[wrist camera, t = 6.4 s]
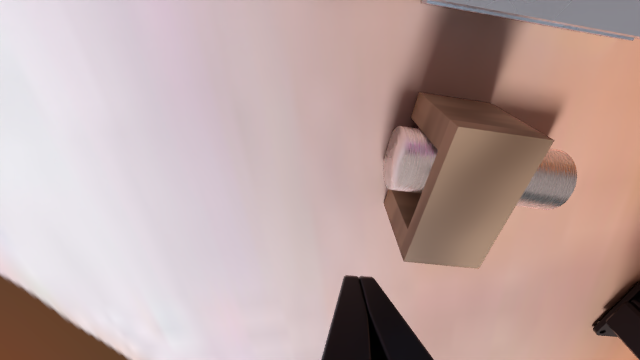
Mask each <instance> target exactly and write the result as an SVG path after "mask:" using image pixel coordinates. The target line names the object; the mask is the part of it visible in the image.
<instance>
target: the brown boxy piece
mask: <svg viewBox="0 0 640 360" xmlns="http://www.w3.org/2000/svg"><path fill="white" fill-rule="evenodd" d="M411 118H412V119H413V121H414V122H415V123H416V124H417V125H418V127H419V128H420V129H421V130H422V132H423V133H424V134H425V135H426V136H427V138H428V139H429V140H430V141H431V142H432V144H433V145H434V146H435V147H436V149H437V150H438V152H437V155H436V158H435V160H434V163H433V165H432V168H431V171H430V173H429V176H428V178H427V181H426V184H425V186H424V189H423V191H422V194H421V193H413V192H405V191H397V190H390V189H388V192H387V195H386V198H385V202H384V206H385V209H386V211H387V214H388V217H389V220H390V223H391V226H392V229H393V232H394V235H395V238H396V240H397V243H398V246H399V249H400V252H401V255H402V258H403V261H404V262H414V263H425V264H435V265H445V266H455V267H465V268H476V269H479V267H480V266H481V264H482V262H483V261H484V259H485V257H486V256H487V254H488V252H489V250H490V249H491V247H492V245H493V244H494V242H495V240H496V239H497V237H498V235H499V233H500V232H501V230H502V228H503V227H504V225H505V223H506V222H507V220H508V218H509V216H510V215H511V213H512V211H513V210H514V208H515V206H516V205H517V203H518V201H519V199H520V198H521V196H522V194H523V193H524V191H525V189H526V188H527V186H528V184H529V183H530V181H531V179H532V177H533V176H534V174H535V172H536V171H537V169H538V167H539V166H540V164H541V162H542V160H543V159H544V157H545V155H546V154H547V152H548V150H549V149H550V147H551V145H552V143H553V142H554V140H553V139H551V138H549V137H548V136H546V135H544V134H542V133H541V132H539V131H537V130H536V129H534V128H532V127H531V126H529V125H527V124H525V123H524V122H522V121H520V120H519V119H517V118H515V117H514V116H512V115H510V114H508V113H507V112H505V111H503V110H502V109H500V108H498V107H497V106H495V105H493V104H491V103H487V102H481V101H474V100H467V99H461V98H454V97H448V96H441V95H435V94H428V93H422V92H419V94H418V97H417V100H416V104H415V107H414V110H413V113H412V116H411Z"/></svg>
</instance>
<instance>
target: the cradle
mask: <svg viewBox="0 0 640 360" xmlns="http://www.w3.org/2000/svg"><path fill="white" fill-rule="evenodd" d="M421 3H425V4H430V5H436V6H441V7H447V8H452V9H458V10H463V11H469V12H474V13H480V14H485V15H491V16H496V17H502V18H507V19H513V20H518V21H524V22H529V23H535V24H540V25H546V26H551V27H557V28H562V29H568V30H573V31H579V32H584V33H590V34H595V35H601V36H606V37H612V38H617V39H625V40H632V41H633V40H634V38H637V39H640V0H421Z"/></svg>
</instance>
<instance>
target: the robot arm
mask: <svg viewBox="0 0 640 360" xmlns="http://www.w3.org/2000/svg"><path fill="white" fill-rule="evenodd" d="M593 330H594V332H595V333H596V334H597V335H601V336H614V337H619V338H620V339H621V340H622V342H623V343H624V344H625V345H626V346H627V347H628V348H629V349H630V350H631V352H632V353H633V354H634V355H635V356H636V357H637V358H638V359H639V360H640V282H639V283H638V284H636V285H635V286H634V287H633V288H632V289H631V290H630V291H629V292H628V293H627V294H626V295H625V296H624V298H623V299H622V300H621V301H620V302H619V303H618V304H617V305H616V306H615V307H614V308H613V309H612V310H611V311H610V312H609V313H608V314H607V315H606V316H605V317H604V318H603V319H602V320H601V321H600V322H599V323H598V324H597V325H596V326H595V327H594V328H593ZM321 360H434V359H433V358H432V357H431V355H430V354H429V353H428V351H427V350H426V348H425V347H424V346H423V344H422V343H421V342H420V340H419V339H418V338H417V336H416V335H415V334H414V332H413V331H412V329H411V328H410V327H409V325H408V324H407V323H406V321H405V320H404V319H403V317H402V316H401V315H400V313H399V312H398V310H397V309H396V308H395V306H394V305H393V304H392V302H391V301H390V300H389V298H388V297H387V296H386V294H385V293H384V291H383V290H382V289H381V287H380V286H379V285H378V283H377V282H376V281H375V279H374V278H372V277H364V276H360V277H359V278H358V277H357V276H348V275H346V276H344V279H343V283H342V286H341V290H340V294H339V297H338V301H337V305H336V308H335V312H334V315H333V319H332V323H331V326H330V330H329V334H328V337H327V341H326V345H325V348H324V352H323V356H322V359H321Z"/></svg>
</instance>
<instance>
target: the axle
mask: <svg viewBox="0 0 640 360" xmlns="http://www.w3.org/2000/svg"><path fill="white" fill-rule="evenodd" d="M437 152H438V150H437V149H436V147H435V146H434V145H433V144H432V142H431V141H430V140H429V139H428V138H427V136H426V135H425V134H424V133H423V132H422V130H421V129H417V128H411V127H404V126H398V127H396V128H395V129H394V131H393V132H392V134H391V137H390V140H389V144H388V147H387V150H386V154H385V157H384V166H383V175H384V182H385V185H386V187H387V188H388V189H390V190H397V191H405V192H413V193H421V194H422V191H423V189H424V186H425V184H426V181H427V178H428V176H429V173H430V171H431V168H432V165H433V163H434V160H435V158H436V155H437ZM576 180H577V171H576V166H575V163H574V161H573V160H572V158H571V157H570V156H569V155H568V154H567V153H565V152H564V151H561V150H557V149H549V150H548V152H547V154H546V155H545V157H544V159H543V160H542V162H541V164H540V166H539V167H538V169H537V171H536V172H535V174H534V176H533V177H532V179H531V181H530V183H529V184H528V186H527V188H526V189H525V191H524V193H523V194H522V196H521V198H520V199H519V201H518V203H517V205H516V206H521V207H529V208H537V209H544V210H550V209H554V208H557V207H559V206H561V205H562V204H564V203H565V202H566V201H567V200H568V199H569V197H570V196H571V194H572V193H573V191H574V188H575V185H576Z"/></svg>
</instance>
